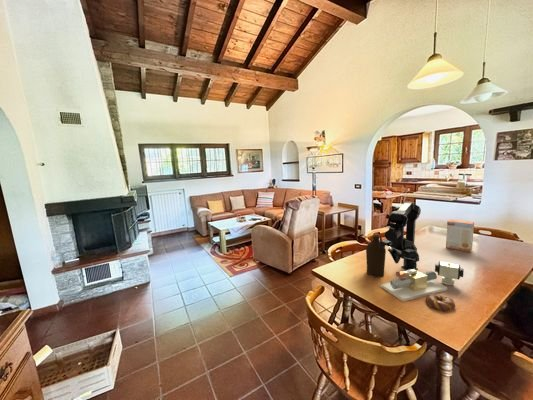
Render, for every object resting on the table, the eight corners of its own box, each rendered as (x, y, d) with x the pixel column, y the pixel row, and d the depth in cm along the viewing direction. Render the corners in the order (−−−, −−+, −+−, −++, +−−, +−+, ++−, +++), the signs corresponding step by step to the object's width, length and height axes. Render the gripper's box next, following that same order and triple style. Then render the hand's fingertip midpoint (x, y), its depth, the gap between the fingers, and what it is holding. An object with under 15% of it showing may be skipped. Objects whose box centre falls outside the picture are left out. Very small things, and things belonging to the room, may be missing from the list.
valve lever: (399, 278, 114) (400, 274, 113) (395, 276, 116) (395, 272, 116) (418, 273, 117) (418, 269, 117) (413, 271, 120) (413, 267, 119)
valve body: (387, 286, 120) (387, 274, 119) (425, 277, 127) (426, 266, 125) (399, 295, 112) (400, 281, 111) (439, 284, 119) (440, 272, 118)
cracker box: (472, 250, 161) (474, 222, 158) (470, 252, 158) (472, 223, 154) (447, 245, 172) (449, 219, 169) (445, 247, 169) (447, 220, 165)
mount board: (381, 287, 123) (381, 284, 123) (421, 277, 130) (422, 275, 130) (403, 301, 109) (403, 298, 109) (446, 290, 116) (447, 287, 116)
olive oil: (374, 279, 131) (374, 238, 127) (362, 271, 141) (362, 232, 137) (389, 276, 133) (390, 235, 130) (376, 268, 144) (377, 230, 140)
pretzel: (440, 296, 112) (441, 289, 111) (462, 310, 101) (463, 303, 101) (419, 300, 110) (419, 293, 110) (439, 314, 100) (440, 306, 99)
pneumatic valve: (434, 278, 128) (435, 258, 126) (461, 284, 120) (463, 263, 118) (433, 283, 123) (435, 262, 122) (462, 289, 116) (464, 267, 114)
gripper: (425, 238, 113) (424, 267, 116) (395, 228, 131) (394, 254, 133) (408, 242, 110) (407, 272, 113) (379, 231, 128) (378, 257, 130)
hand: (396, 263), depth 122 cm, fingers closed
